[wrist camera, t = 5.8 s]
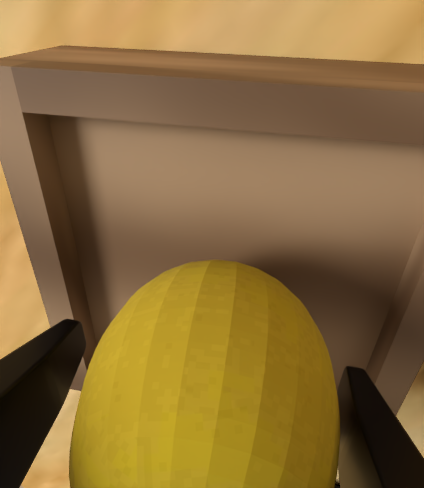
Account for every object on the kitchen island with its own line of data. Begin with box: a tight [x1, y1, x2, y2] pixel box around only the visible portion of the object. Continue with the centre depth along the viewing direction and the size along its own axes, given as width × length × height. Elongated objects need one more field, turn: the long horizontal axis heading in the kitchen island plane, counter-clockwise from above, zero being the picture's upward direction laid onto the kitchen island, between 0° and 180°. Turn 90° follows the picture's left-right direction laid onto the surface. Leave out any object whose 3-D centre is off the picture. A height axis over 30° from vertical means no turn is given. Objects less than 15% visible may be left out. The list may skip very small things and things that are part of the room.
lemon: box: [69, 259, 340, 488], centre depth 9 cm, size 6×6×8 cm
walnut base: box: [0, 46, 424, 416], centre depth 13 cm, size 12×12×4 cm
